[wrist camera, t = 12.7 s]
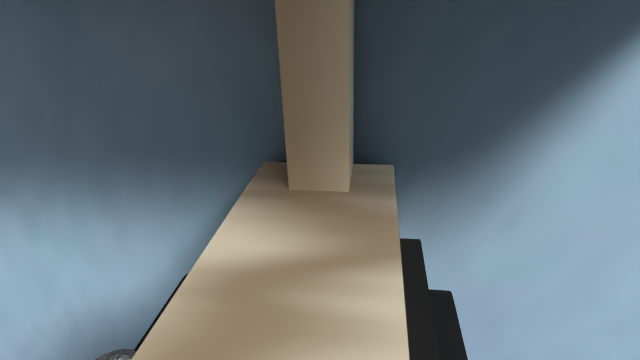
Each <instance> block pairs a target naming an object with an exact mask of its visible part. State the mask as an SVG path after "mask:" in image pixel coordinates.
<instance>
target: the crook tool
mask: <svg viewBox="0 0 640 360" xmlns="http://www.w3.org/2000/svg"><path fill="white" fill-rule="evenodd" d="M275 13H276V26H277V39H278V52H279V66H280V79H281V92H282V105H283V118H284V132H285V145H286V158H287V162H266V161H263V162H262V164H261V165H260V167H259V168H258V170H257V171H256V173H255V174H254V176H253V177H252V179H251V180H250V182H249V183H248V185H247V186H246V188H245V189H244V191H243V192H242V194H241V195H240V197H239V199H238V200H237V202H236V203H235V205H234V206H233V208H232V209H231V211H230V212H229V214H228V215H227V217H226V218H225V220H224V221H223V223H222V224H221V226H220V227H219V229H218V230H217V232H216V233H215V235H214V236H213V238H212V239H211V241H210V242H209V244H208V245H207V247H206V248H205V250H204V251H203V253H202V254H201V256H200V257H199V259H198V260H197V262H196V263H195V265H194V266H193V268H192V269H191V271H190V272H189V274H188V275H187V277H186V278H185V280H184V281H183V283H182V284H181V286H180V287H179V289H178V290H177V292H176V293H175V295H174V296H173V298H172V299H171V301H170V302H169V304H168V305H167V307H166V308H165V310H164V311H163V313H162V314H161V316H160V317H159V319H158V320H157V322H156V323H155V325H154V326H153V328H152V329H151V331H150V332H149V334H148V335H147V337H146V338H145V340H144V341H143V343H142V344H141V346H140V347H139V349H138V350H137V352H136V353H135V355H134V356H133V358H132V359H131V360H409V348H408V335H407V323H406V311H405V298H404V286H403V274H402V261H401V249H400V237H399V225H398V212H397V200H396V188H395V175H394V165H377V164H353V129H354V0H275Z"/></svg>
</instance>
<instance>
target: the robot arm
mask: <svg viewBox="0 0 640 360" xmlns="http://www.w3.org/2000/svg"><path fill="white" fill-rule="evenodd" d="M400 249H401V261H402V274H403V286H404V298H405V311H406V323H407V335H408V348H409V360H468V359H467V355H466V350H465V346H464V342H463V338H462V334H461V329H460V325H459V321H458V317H457V312H456V308H455V304H454V300H453V296H452V293H451V292H450V291H444V290H429V289H428V283H427V277H426V271H425V265H424V258H423V252H422V246H421V241H420V239H401V238H400ZM188 274H189V273H188ZM188 274H186V275H185V276H184V277H183V278H182V280H181V281H180V283H179V284H178V286H177V287H176V289H175V290H174V292H173V293H172V295H171V296H170V298H169V299H168V301H167V302H166V304H165V305H164V307H163V308H162V310H161V311H160V313H159V314H158V316H157V317H156V319H155V320H154V322H153V323H152V324H151V326H150V327H149V329H148V330H147V332H146V333H145V335H144V336H143V338H142V339H141V341H140V342H139V344H138V345H137V347H136V348H135V350H130V349H122V350H116V351H112V352H110V353H107V354H105V355H102V356H100V357H99V358H97V359H96V360H131V359H132V358H133V356H134V355H135V353H136V352H137V350H138V349H139V347H140V346H141V344H142V343H143V341H144V340H145V338H146V337H147V335H148V334H149V332H150V331H151V329H152V328H153V326H154V325H155V323H156V322H157V320H158V319H159V317H160V316H161V314H162V313H163V311H164V310H165V308H166V307H167V305H168V304H169V302H170V301H171V299H172V298H173V296H174V295H175V293H176V292H177V290H178V289H179V287H180V286H181V284H182V283H183V281H184V280H185V278H186V277H187V275H188Z"/></svg>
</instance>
